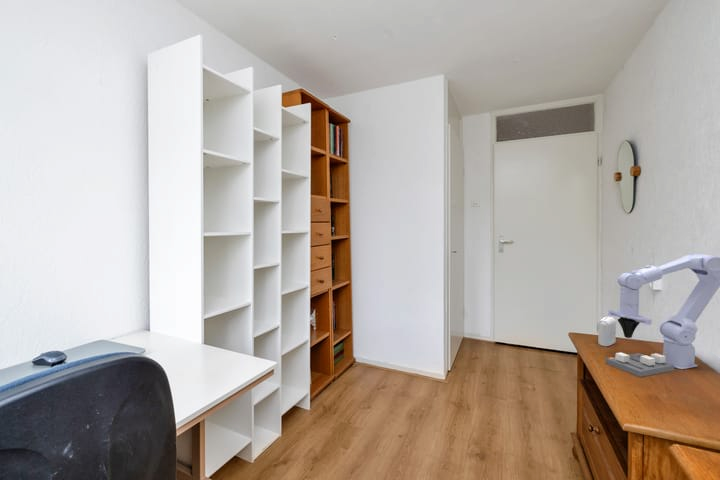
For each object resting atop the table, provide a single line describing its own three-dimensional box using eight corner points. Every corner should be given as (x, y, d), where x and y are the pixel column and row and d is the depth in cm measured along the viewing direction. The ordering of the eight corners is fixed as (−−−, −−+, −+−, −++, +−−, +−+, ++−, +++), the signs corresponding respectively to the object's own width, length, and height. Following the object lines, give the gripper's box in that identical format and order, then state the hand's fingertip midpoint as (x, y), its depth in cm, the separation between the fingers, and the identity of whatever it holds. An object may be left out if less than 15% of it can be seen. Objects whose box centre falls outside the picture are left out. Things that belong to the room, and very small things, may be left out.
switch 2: (656, 359, 124) (656, 353, 124) (665, 362, 121) (665, 356, 121) (650, 360, 123) (650, 354, 123) (659, 363, 120) (660, 357, 120)
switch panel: (641, 357, 132) (642, 351, 132) (677, 369, 120) (678, 363, 120) (605, 363, 126) (605, 357, 126) (639, 377, 115) (640, 370, 114)
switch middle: (645, 361, 122) (645, 355, 122) (654, 364, 119) (655, 358, 119) (640, 362, 121) (640, 356, 121) (649, 365, 118) (649, 359, 118)
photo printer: (605, 340, 152) (606, 314, 151) (616, 342, 148) (617, 316, 148) (596, 344, 146) (597, 317, 146) (607, 347, 143) (608, 320, 142)
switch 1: (621, 358, 125) (621, 352, 125) (629, 361, 122) (629, 355, 122) (615, 359, 124) (615, 353, 124) (623, 362, 121) (623, 356, 121)
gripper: (603, 300, 134) (602, 332, 134) (642, 308, 120) (641, 344, 120) (615, 299, 136) (614, 330, 136) (655, 307, 122) (654, 342, 122)
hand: (628, 337), depth 128 cm, fingers closed
